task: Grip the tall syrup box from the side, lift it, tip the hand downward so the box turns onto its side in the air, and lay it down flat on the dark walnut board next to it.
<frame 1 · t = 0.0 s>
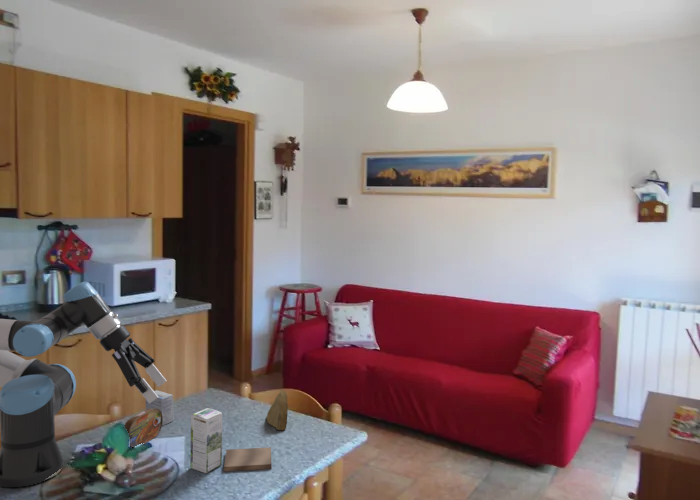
hand: (158, 391, 156), 15 cm above the table, tool tilted 35°, fingers open, 13 cm apart
walnut board: (248, 461, 148), on the table
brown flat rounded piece: (142, 442, 159), on the table
rock: (276, 425, 173), on the table
medicine box: (159, 421, 174), on the table
syrup box: (206, 467, 144), on the table
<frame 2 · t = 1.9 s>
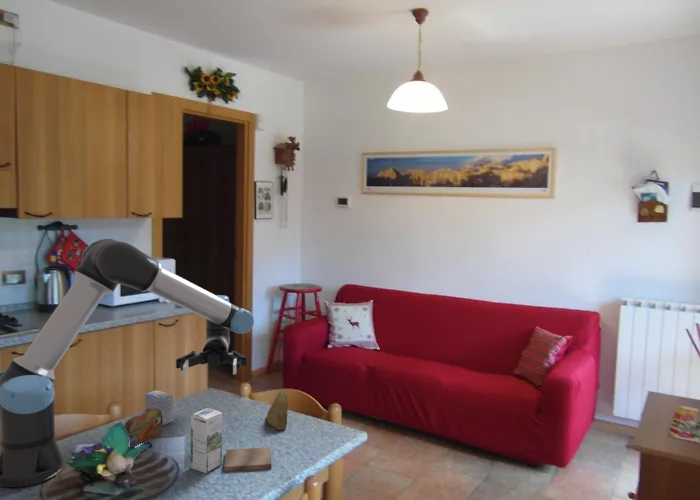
hand: (209, 370, 155), 22 cm above the table, tool horizontal, fingers open, 13 cm apart
nothing on the table moved.
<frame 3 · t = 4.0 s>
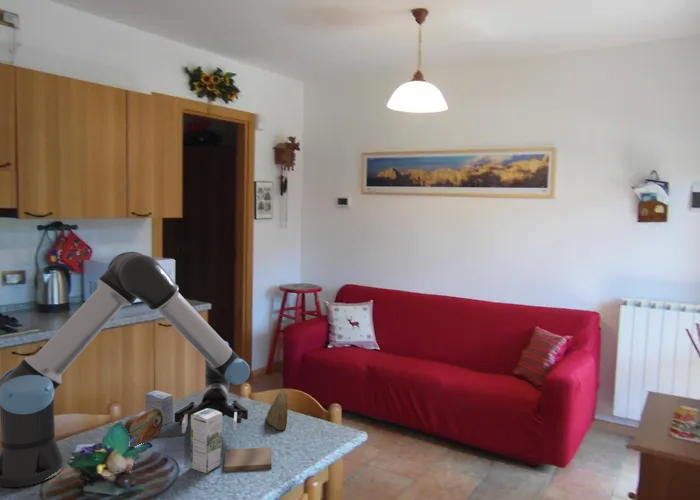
hand: (209, 426, 150), 8 cm above the table, tool horizontal, fingers open, 13 cm apart
nothing on the table moved.
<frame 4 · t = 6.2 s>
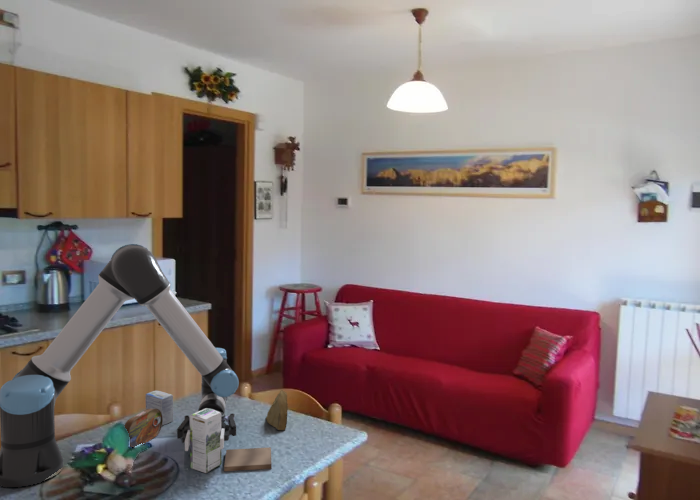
hand: (204, 444, 139), 8 cm above the table, tool horizontal, fingers closed on syrup box, 8 cm apart
syrup box: (206, 467, 144), on the table, touching gripper
everything else where it was.
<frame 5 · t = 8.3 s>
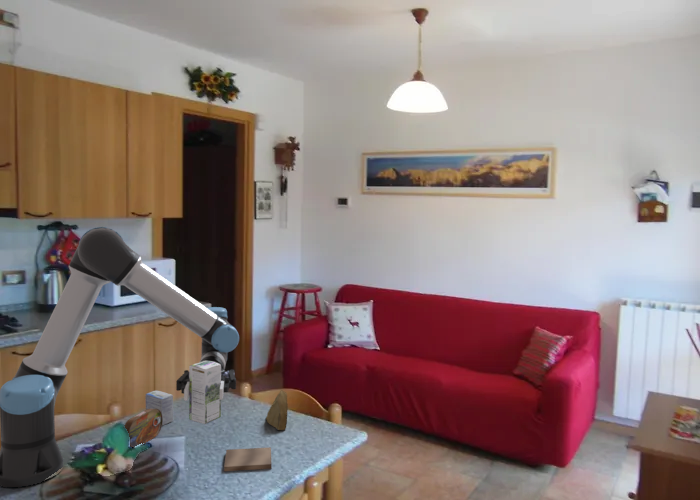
hand: (203, 394, 138), 21 cm above the table, tool horizontal, fingers closed on syrup box, 8 cm apart
syrup box: (205, 419, 143), point 13 cm above the table, touching gripper
everything else where it was.
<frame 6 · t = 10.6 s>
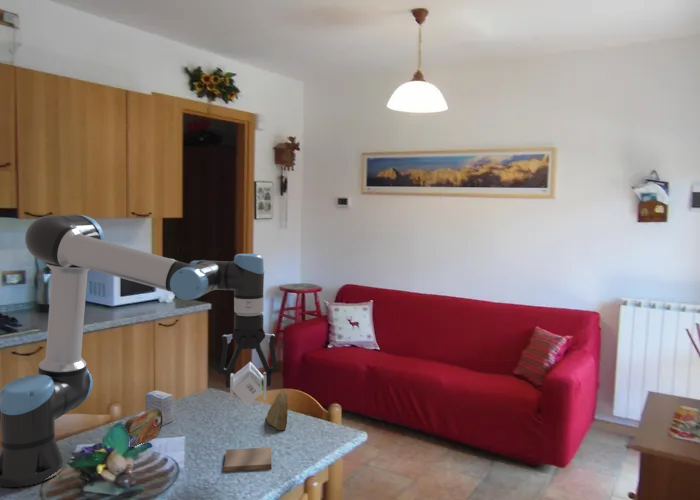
hand: (248, 398, 146), 17 cm above the table, tool pointing down, fingers closed on syrup box, 8 cm apart
syrup box: (247, 391, 138), point 22 cm above the table, touching gripper
everything else where it was.
when the fingers open (2 cm above the table, at t = 14.2 s): syrup box drops 3 cm, resting on walnut board.
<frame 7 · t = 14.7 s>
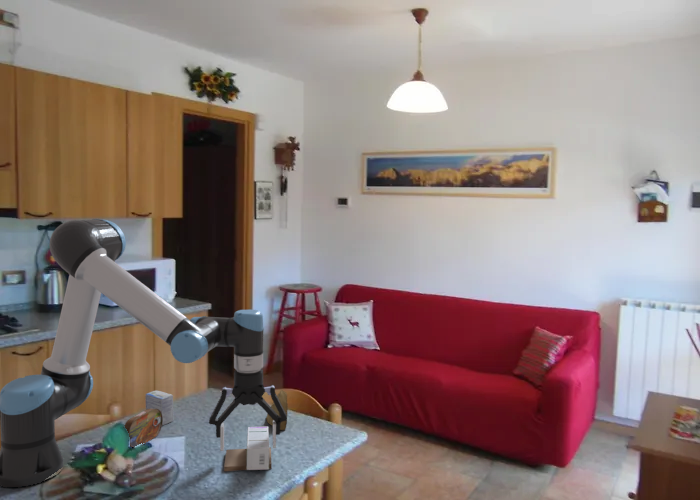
hand: (248, 447, 148), 4 cm above the table, tool pointing down, fingers open, 13 cm apart
syrup box: (257, 459, 140), point 4 cm above the table, touching walnut board
everything else where it was.
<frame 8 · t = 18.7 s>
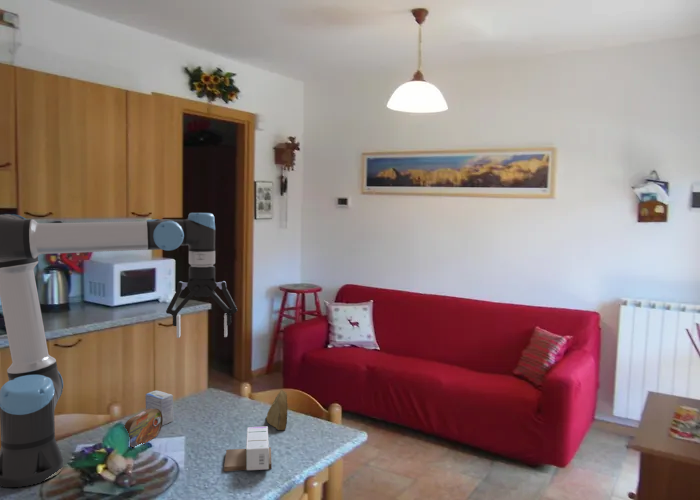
hand: (202, 336, 165), 29 cm above the table, tool pointing down, fingers open, 13 cm apart
nothing on the table moved.
at the end: syrup box tilted 90°; syrup box touching walnut board; the gripper is holding nothing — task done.
